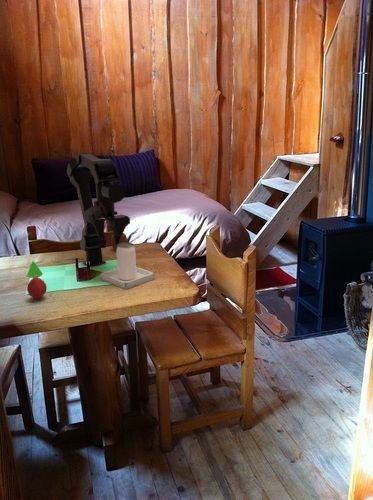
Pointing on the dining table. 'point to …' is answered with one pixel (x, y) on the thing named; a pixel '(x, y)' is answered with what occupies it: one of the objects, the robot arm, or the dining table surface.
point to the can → (126, 261)
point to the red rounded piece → (36, 287)
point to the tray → (140, 279)
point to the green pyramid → (34, 271)
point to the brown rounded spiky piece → (122, 240)
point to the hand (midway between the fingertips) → (108, 241)
